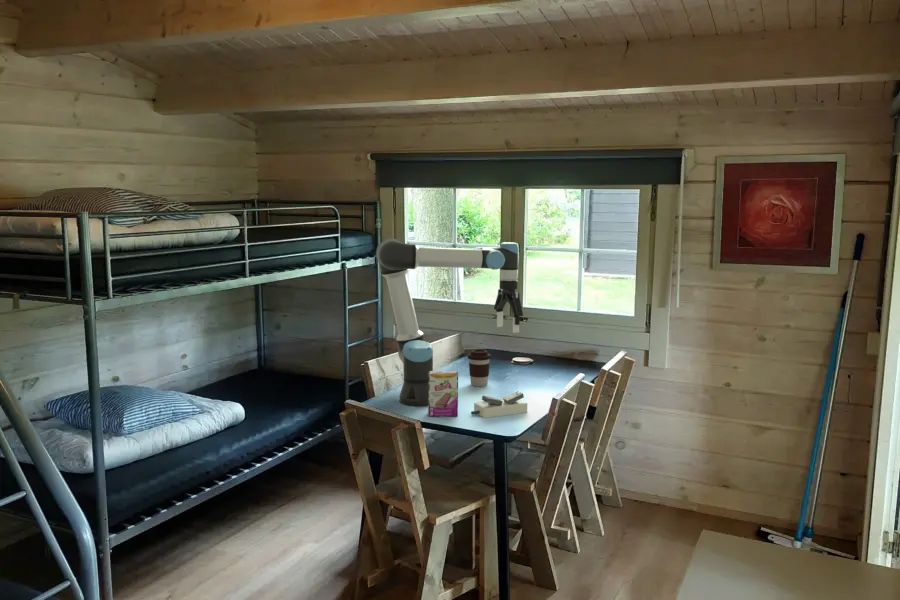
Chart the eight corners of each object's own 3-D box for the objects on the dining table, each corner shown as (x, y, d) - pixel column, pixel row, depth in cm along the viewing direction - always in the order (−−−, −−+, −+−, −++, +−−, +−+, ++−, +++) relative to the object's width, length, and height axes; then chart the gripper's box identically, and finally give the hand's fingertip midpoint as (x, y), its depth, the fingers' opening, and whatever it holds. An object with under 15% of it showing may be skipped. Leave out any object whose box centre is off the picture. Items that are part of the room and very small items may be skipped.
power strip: (477, 419, 269) (477, 407, 268) (466, 412, 277) (466, 401, 276) (527, 412, 277) (527, 401, 276) (515, 405, 285) (516, 395, 285)
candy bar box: (428, 417, 271) (428, 374, 269) (428, 413, 276) (428, 370, 274) (458, 416, 272) (458, 373, 269) (457, 412, 277) (457, 370, 274)
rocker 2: (508, 404, 274) (507, 400, 274) (504, 401, 278) (502, 397, 277) (524, 397, 277) (522, 393, 276) (519, 394, 280) (518, 390, 280)
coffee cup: (488, 388, 311) (489, 353, 309) (465, 387, 313) (465, 352, 311) (492, 382, 321) (492, 348, 318) (469, 381, 323) (470, 348, 320)
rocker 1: (485, 402, 270) (487, 397, 270) (481, 399, 274) (482, 394, 274) (501, 405, 273) (502, 400, 273) (497, 402, 277) (498, 398, 277)
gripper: (532, 282, 296) (530, 334, 299) (502, 276, 318) (500, 324, 321) (516, 283, 293) (514, 335, 296) (486, 276, 315) (485, 325, 318)
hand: (507, 329), depth 309 cm, fingers open, 13 cm apart
